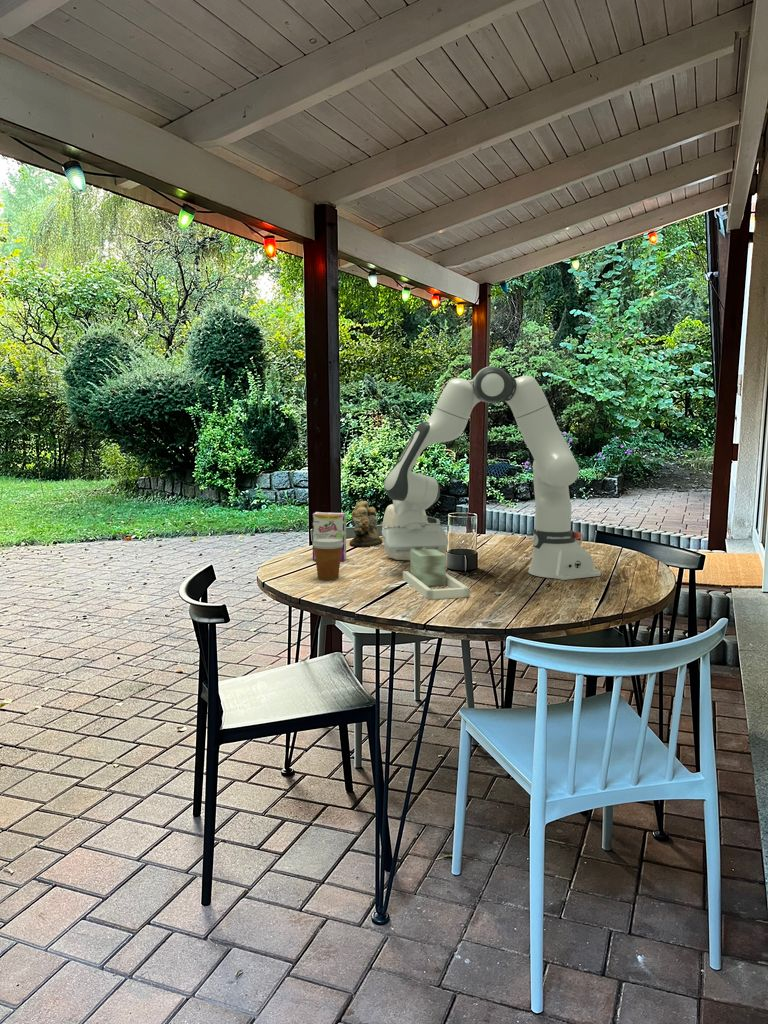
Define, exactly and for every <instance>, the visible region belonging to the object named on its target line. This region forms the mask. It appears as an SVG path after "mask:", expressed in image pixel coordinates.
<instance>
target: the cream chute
mask: <svg viewBox="0 0 768 1024" xmlns="http://www.w3.org/2000/svg"><path fill="white" fill-rule="evenodd" d="M402 580H403V581H404V582H406V583H407V584H408V585H410V586H411V587H412V588H413V589H414V590H416V592H418V593H419V594H421V595H422V597H424V598H425V599H426V600H440V599H441V600H444V599H460V598H461V599H462V598H469V599H470V597H471V596H470V595H471V589H470V587H468V586H467V585H465V584H464V583H462V582H461V581H459V580H457V579H456V578H455V577H453V576H451V575H450V574H448V573H447V572H446V585H447V586H448V587H449V588H436V589H435V588H434V589H432V588H430V586H426V585H425V584H424V583H422V582H421V581H420V580H418V579H417V578H416V577H414V576H413V575H412V574H411V573H410V571H409V570H406V571H405V570H403V571H402Z"/></svg>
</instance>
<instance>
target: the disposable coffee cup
mask: <svg viewBox="0 0 768 1024" xmlns="http://www.w3.org/2000/svg"><path fill="white" fill-rule="evenodd" d="M343 544H344V543H343V542H342V539H341V538H335V537H322V538H316V539H314V542H313V541H312V548H313V547H314V552H315V559H316V561H315V565H316V566H315V567H316V572H317V579H318V578H319V579H318V580H321V579H322V580H321V581H323V580H324V581H332V580H331V579H334V580H338V579H339V576H340V567H341V561H340V559H341V551H342V546H343Z"/></svg>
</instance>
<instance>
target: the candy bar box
mask: <svg viewBox="0 0 768 1024" xmlns="http://www.w3.org/2000/svg"><path fill="white" fill-rule="evenodd" d="M322 537H335V538H341V539H342V542H343V543H344V544H343V546H342V551H341V559H340V562H345V561H346V559H347V513H346V512H321V511H315V512H313V513H312V543H313V542H314V539H316V538H322ZM314 560H316V559H315V552H314V547H313V546H312V561H314Z"/></svg>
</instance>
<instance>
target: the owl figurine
mask: <svg viewBox="0 0 768 1024" xmlns="http://www.w3.org/2000/svg"><path fill="white" fill-rule="evenodd" d="M351 519H352V520H351V522H352V525H354V529H353V532H354V533H355V536H354V537H353V538H352V540H350V541H349V545H350V546H351V547H360V548H361V547H362V548H371V547H370V546H373V547H376V546H377V545H378V546H380V545H382V544H383V539H382V538H381V537H380V535H379V526H378V515H377V510H376V508H375V507H374V506H370V507H369V502H368V501H366V500H361V501H359V502H357V503H356V504H355V506H354V509H353V510H352V511H351ZM381 543H382V544H381ZM379 544H380V545H379Z"/></svg>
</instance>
